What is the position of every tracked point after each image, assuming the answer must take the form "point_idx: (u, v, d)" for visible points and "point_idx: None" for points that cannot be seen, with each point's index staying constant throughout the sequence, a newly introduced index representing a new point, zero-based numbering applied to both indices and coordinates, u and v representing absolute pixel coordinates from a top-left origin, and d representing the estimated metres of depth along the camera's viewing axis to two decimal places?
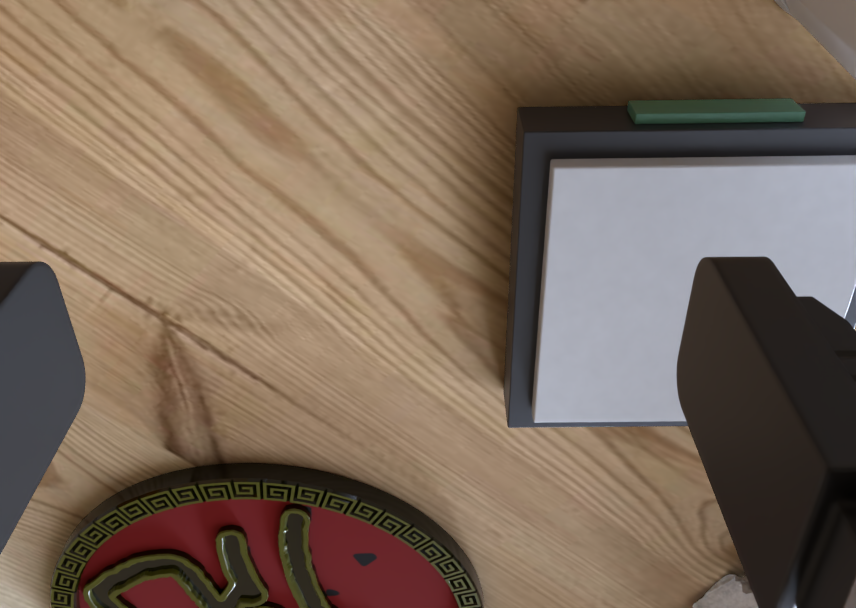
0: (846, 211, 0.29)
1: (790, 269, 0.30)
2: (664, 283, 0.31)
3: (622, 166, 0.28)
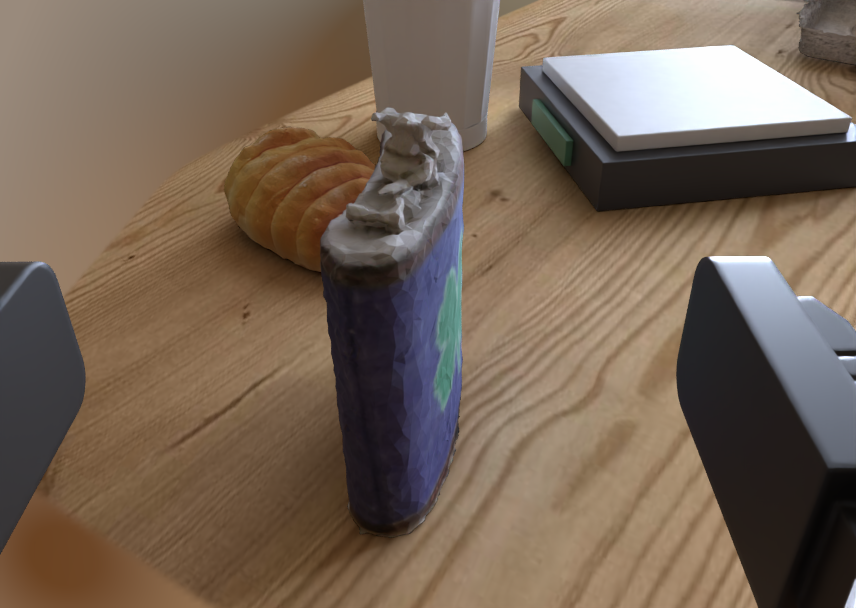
0: (580, 62, 0.46)
1: (629, 66, 0.45)
2: (674, 94, 0.42)
3: (600, 118, 0.39)
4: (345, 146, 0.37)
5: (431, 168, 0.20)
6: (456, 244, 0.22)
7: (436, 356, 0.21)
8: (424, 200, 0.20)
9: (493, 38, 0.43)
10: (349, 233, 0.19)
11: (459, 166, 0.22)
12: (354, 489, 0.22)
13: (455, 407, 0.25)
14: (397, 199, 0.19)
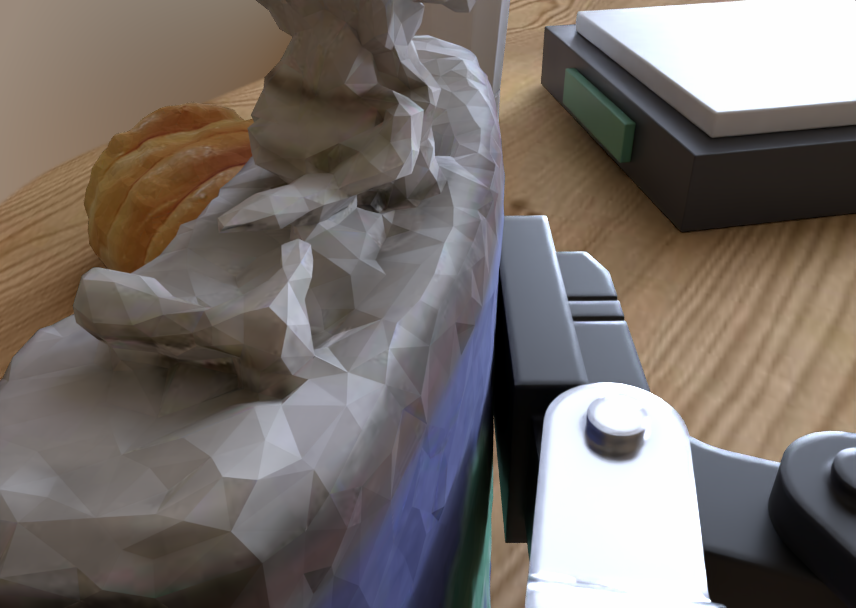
0: (631, 16, 0.32)
1: (703, 20, 0.32)
2: (782, 55, 0.28)
3: (679, 88, 0.25)
4: None
5: (417, 137, 0.06)
6: (491, 358, 0.08)
7: None
8: (395, 243, 0.06)
9: None
10: (87, 393, 0.05)
11: (494, 140, 0.08)
12: None
13: None
14: (286, 249, 0.05)
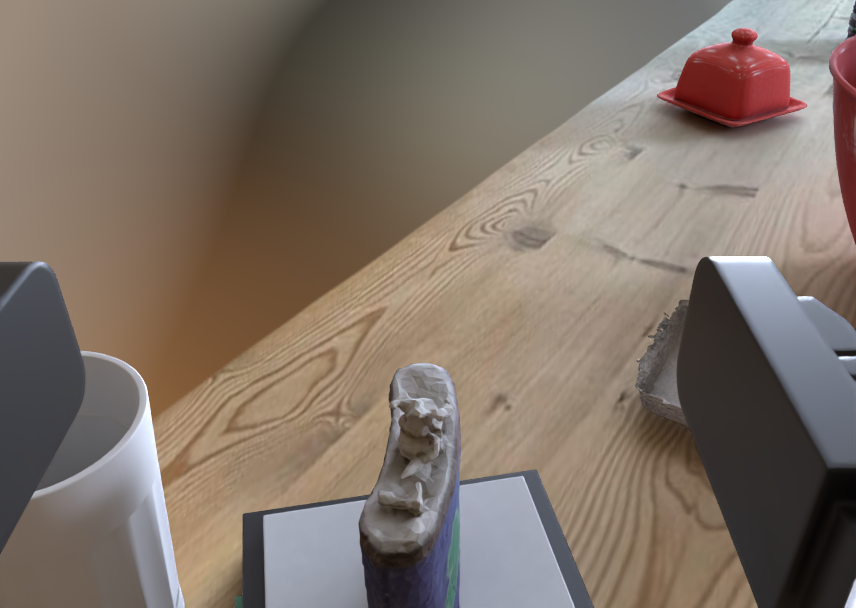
0: (306, 530, 0.35)
1: None
2: None
3: None
4: None
5: (439, 446, 0.26)
6: (458, 489, 0.27)
7: (447, 584, 0.27)
8: (434, 471, 0.26)
9: (155, 554, 0.31)
10: (381, 516, 0.24)
11: (457, 425, 0.27)
12: None
13: None
14: (416, 485, 0.24)
